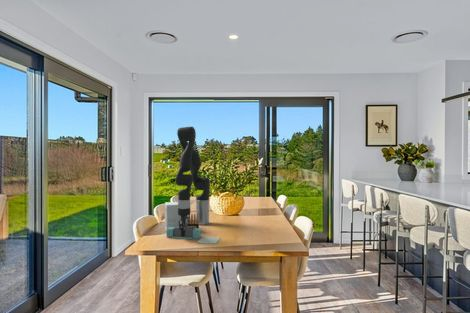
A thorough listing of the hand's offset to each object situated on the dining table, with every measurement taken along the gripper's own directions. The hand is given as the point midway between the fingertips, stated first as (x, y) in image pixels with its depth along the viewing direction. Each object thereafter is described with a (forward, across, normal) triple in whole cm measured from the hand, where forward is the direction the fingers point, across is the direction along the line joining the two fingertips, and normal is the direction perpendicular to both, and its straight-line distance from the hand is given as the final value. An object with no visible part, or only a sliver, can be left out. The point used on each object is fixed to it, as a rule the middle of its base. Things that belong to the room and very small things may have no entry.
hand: (184, 235), depth 198 cm
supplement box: (+1, -19, -12) cm, 22 cm away
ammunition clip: (+1, -14, 0) cm, 14 cm away
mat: (+1, +6, +17) cm, 18 cm away
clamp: (+1, 0, 0) cm, 1 cm away
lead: (+1, 0, 0) cm, 1 cm away
